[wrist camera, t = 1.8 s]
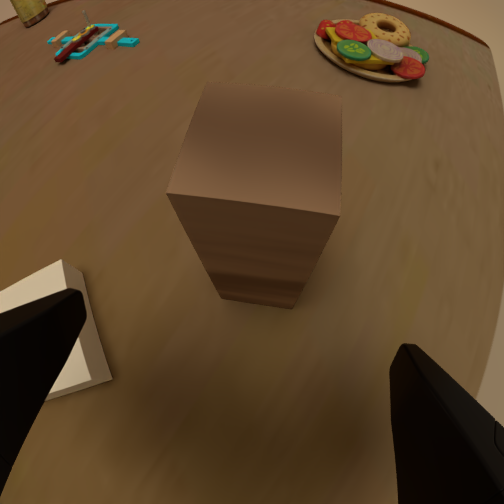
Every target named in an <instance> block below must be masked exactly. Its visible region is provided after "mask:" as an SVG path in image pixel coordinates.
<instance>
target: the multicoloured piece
mask: <svg viewBox="0 0 504 504" xmlns="http://www.w3.org/2000/svg"><path fill="white" fill-rule="evenodd" d="M82 12H83V15H84V17H85V19H86V22H87V24H88V27H86V28H84V29H83V30H81V31H80V32H79V33H78V34H77V35H76V36H74V37H71V35H70V33H69V31H63V32H62V33H60V34H59V35H58V36H57V37H52V38H51V39H50V40H49V41H47V42H48V44H52V45H53V47H59V46H60V45H61V44H65V45H64V46H63V47H61V49H60V50H59V51H58V52H57V53H56V57H55V58H54V60H55V61H56V62H63V61H64V60H65V59H66V58H67V59H82V58H84V57H85V56H86V55H88V54H89V53H90V52H91V51H92V50H93V49H94V48H96V47H97V46H98V45H106V47H107V49H113V50H114V49H115V48H116V47H118V46H125V47H135V46H136V45H137V44H138V43H139V39H138V38H128V35H127V32H126V30H118V29H119V27H118V24H92V25H91V24H90V22H89V19H88V17H87V14H86V12H85V10H84V11H82ZM116 30H118V31H117V32H116V33H114V32H115V31H116ZM97 31H104V32H103V33H102V34H100V35H98V32H97ZM113 33H114V34H113ZM111 34H113V35H112V36H111V37H109V36H110V35H111ZM84 42H91V43H90V44H88V45H86V46H85V44H84ZM72 52H81V53H72Z"/></svg>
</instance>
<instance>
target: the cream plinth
mask: <svg viewBox="0 0 504 504" xmlns="http://www.w3.org/2000/svg"><path fill="white" fill-rule="evenodd" d="M67 288H73V289H77V290H80V291H81V292H82V294H83V297H84V302H85V307H86V311H87V319H86V322H85V324H84V326H83V328H82V330H81V332H80V334H79V336H78V339H77V341H76V343H75V345H74V347H73V349H72V352H71V354H70V356H69V358H68V360H67V362H66V364H65V365H64V367H63V369H62V371H61V372H60V374H59V376H58V378H57V380H56V381H55V383H54V385H53V387H52V389H51V390H50V392H49V394H48V396H47V398H46V400H45V401H47V400H50V399H53V398H57V397H60V396H63V395H66V394H69V393H73V392H76V391H79V390H82V389H85V388H88V387H91V386H94V385H97V384H100V383H103V382H106V381H109V380H112V379H113V378H112V376H111V373H110V370H109V367H108V364H107V361H106V358H105V355H104V352H103V348H102V345H101V342H100V339H99V335H98V332H97V329H96V325H95V321H94V318H93V314H92V310H91V307H90V303H89V299H88V295H87V291H86V286H85V282H84V278H83V273H82V272H81V271H79V270H77V269H76V268H74V267H73V266H71V265H69V264H68V263H66V262H65V261H63V260H62V259H61V260H59V261H57V262H55V263H53V264H51V265H49V266H47V267H45V268H43V269H41V270H39V271H38V272H36V273H34V274H32V275H30V276H28V277H26V278H24V279H23V280H21V281H19V282H17V283H15V284H13V285H12V286H10V287H8V288H6V289H4V290H3V291H1V292H0V313H2V312H5V311H7V310H10V309H13V308H15V307H18V306H21V305H23V304H26V303H29V302H31V301H34V300H37V299H40V298H42V297H45V296H48V295H50V294H53V293H56V292H59V291H61V290H64V289H67Z"/></svg>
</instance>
